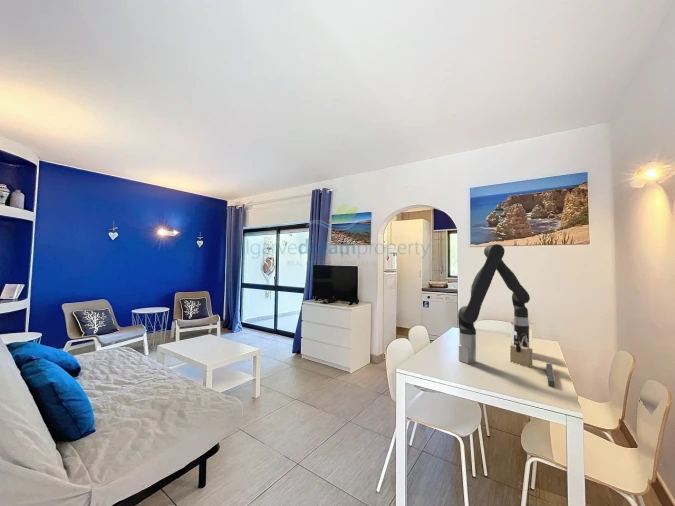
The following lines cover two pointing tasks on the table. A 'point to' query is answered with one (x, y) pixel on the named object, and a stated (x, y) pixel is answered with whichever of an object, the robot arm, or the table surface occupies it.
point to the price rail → (550, 375)
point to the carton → (521, 356)
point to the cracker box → (514, 334)
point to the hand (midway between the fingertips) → (521, 350)
